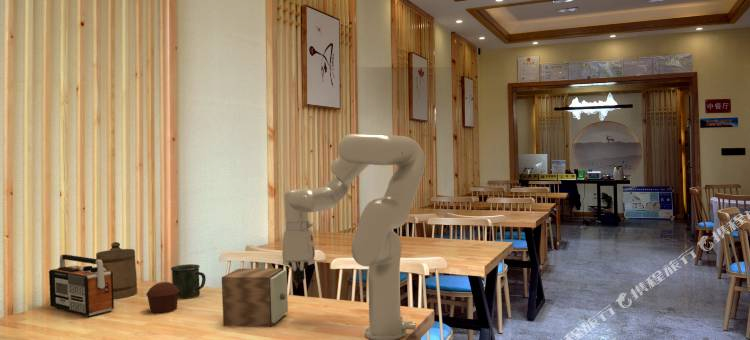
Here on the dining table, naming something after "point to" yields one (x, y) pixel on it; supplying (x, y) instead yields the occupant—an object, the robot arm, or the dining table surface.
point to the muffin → (163, 297)
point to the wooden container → (120, 269)
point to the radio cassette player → (81, 287)
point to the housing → (247, 297)
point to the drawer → (278, 295)
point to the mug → (187, 280)
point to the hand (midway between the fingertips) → (299, 281)
